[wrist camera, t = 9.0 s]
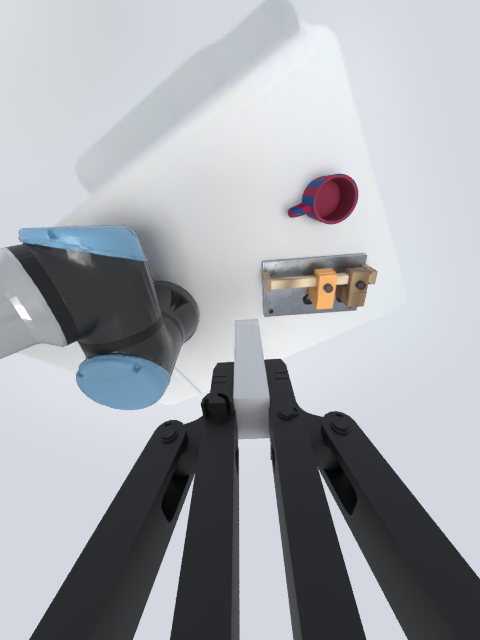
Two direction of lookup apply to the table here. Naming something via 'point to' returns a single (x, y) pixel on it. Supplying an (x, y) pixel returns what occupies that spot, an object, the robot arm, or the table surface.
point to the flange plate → (297, 298)
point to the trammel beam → (348, 284)
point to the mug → (328, 199)
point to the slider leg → (323, 289)
